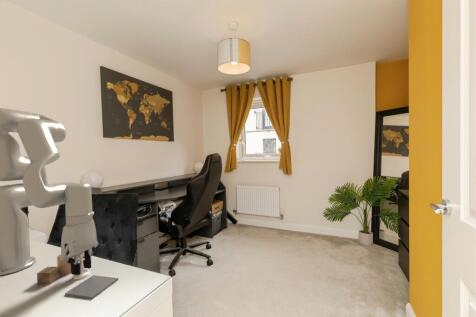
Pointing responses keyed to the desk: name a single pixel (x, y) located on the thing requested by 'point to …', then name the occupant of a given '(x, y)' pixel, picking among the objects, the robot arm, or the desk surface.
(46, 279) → the walnut block
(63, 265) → the peach rounded dome
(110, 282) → the coaster
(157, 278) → the desk surface
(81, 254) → the chess piece
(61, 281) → the desk surface
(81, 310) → the desk surface
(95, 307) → the desk surface
